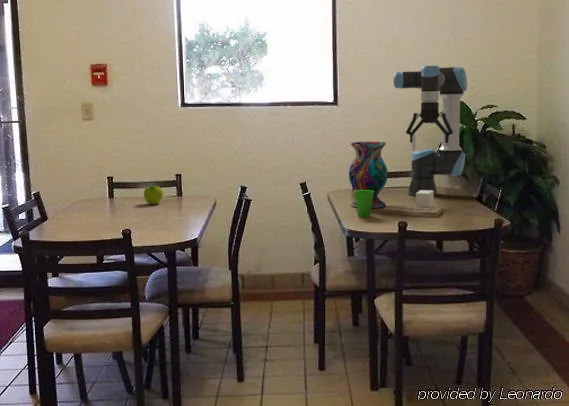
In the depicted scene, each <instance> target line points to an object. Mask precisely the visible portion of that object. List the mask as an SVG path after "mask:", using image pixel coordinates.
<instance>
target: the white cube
mask: <svg viewBox="0 0 569 406" xmlns="http://www.w3.org/2000/svg"><path fill="white" fill-rule="evenodd" d="M434 199H435V198H434V191H431V190H420V191H419V192H417V193H416V196H415V207H430V208H434V201H435V200H434Z"/></svg>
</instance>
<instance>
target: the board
mask: <svg viewBox="0 0 569 406" xmlns="http://www.w3.org/2000/svg"><path fill="white" fill-rule="evenodd" d="M441 213H442V207H433V208H430V207H416V206H413V205H412V206H411V205H409V206H408V205H393V204H392V205H390V204H388V205H387V206H384V208H382V209H381V215H388V214H391V216H404V217H405V216H408V217H424V218H425V217H426V218H437V217H439V215H440V214H441Z"/></svg>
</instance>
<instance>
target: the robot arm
mask: <svg viewBox="0 0 569 406" xmlns="http://www.w3.org/2000/svg"><path fill="white" fill-rule="evenodd" d="M465 70H466V69H464V67H459V66H454V67H453V66H449V67H440V66H439V65H424V66H422V67H421V69H420V70H418V71H416V70H415V71H414V70H413V71H397V72H394V74H393V86H394V88H395V89H400V90H401V89H402V90H403V89H418V90H421V93H420V95H421V96H420V101H421V103H420V112H414V113H413V115H412V116H413V117H412V118H411V121H410V123H409V125H408V127H407V130H406V132H405V134H407V135H409V137H410V138H409V142H410V143H412V144H411V145H412V147H411V148H412V151H413V152H412V154H411V160H410V161H411V177H410V178H411V181H410V184H409V186H408V189H407V195H409V196H413V197H416V193H417V192H419V191H420V190H431V191H434V196H437V195H438V188H437V185H436V181H435V176H452V177H453V176H460V175H462V173H463V170H464V167H465V163H466V153H465V152H463V148H462V147H461V146H460V123H461V122H460V120H461V118H460V117H461V97H463V96H464V94H465V93H464V92H466V91H467V89H468V79H467V74H466V71H465ZM440 97H441V99H442V113H441V112H439V108H440V107H439V104H440V102H439V99H440ZM439 117H440V118H441V122H440V120H439ZM419 118H421V119H420V121H419V122H418V124H417V125H416V126H415V123H416V122H417V119H419ZM424 123H425V124H435V125H436V126H437V127H438V129H440V131H441V146H440V147H439V148H438V151H436V149H434V148H431V149H421V150H416V135H415V134H416V132H417V131H418V130H419V129H420V128H421V127H422V125H423V124H424ZM413 127H414V128H413Z"/></svg>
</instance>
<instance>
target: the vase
mask: <svg viewBox="0 0 569 406" xmlns="http://www.w3.org/2000/svg"><path fill="white" fill-rule="evenodd" d="M350 146H351V147H352V148H353V149H354V151H355V156H354V159H353V161H352V162H351V164H350V166H349V170H348V178H349V179H348V180H349V183H350V185H351V186H352V188H353V189H354V191H356V190H372V191H374V194H373V200H372V207H371V209H374V208H375V209H376V208H381V207H386V205H387V204H386V203H385V202H384V201H382V200H381V199H380V198H379V197H378V195H379V194H380V192H381V191H382V190H383V189H384V187H385V186H386V185H387V181H388V178H389V177H388V175H389V172H388V167H387V164H386V163H385V161H384V159H383V157H382V150H383V149H384V147H385V146H386V142H384V141H355V142H351V143H350ZM350 206H352V207H354V208H357V205H356V200H354V201H353V202H351V203H350Z"/></svg>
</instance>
